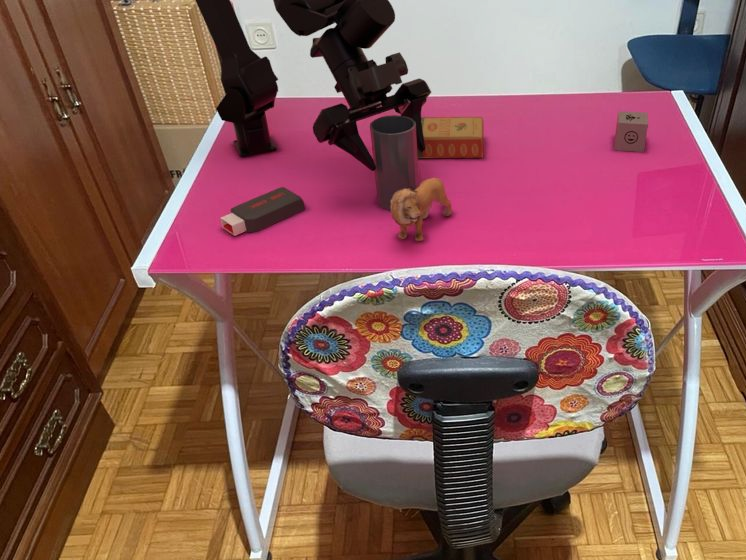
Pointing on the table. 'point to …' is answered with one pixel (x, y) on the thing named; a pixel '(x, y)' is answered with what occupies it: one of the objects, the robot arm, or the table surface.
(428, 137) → the carton
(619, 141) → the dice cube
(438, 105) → the table surface
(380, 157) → the pen pot
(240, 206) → the usb drive
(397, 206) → the lion figurine
